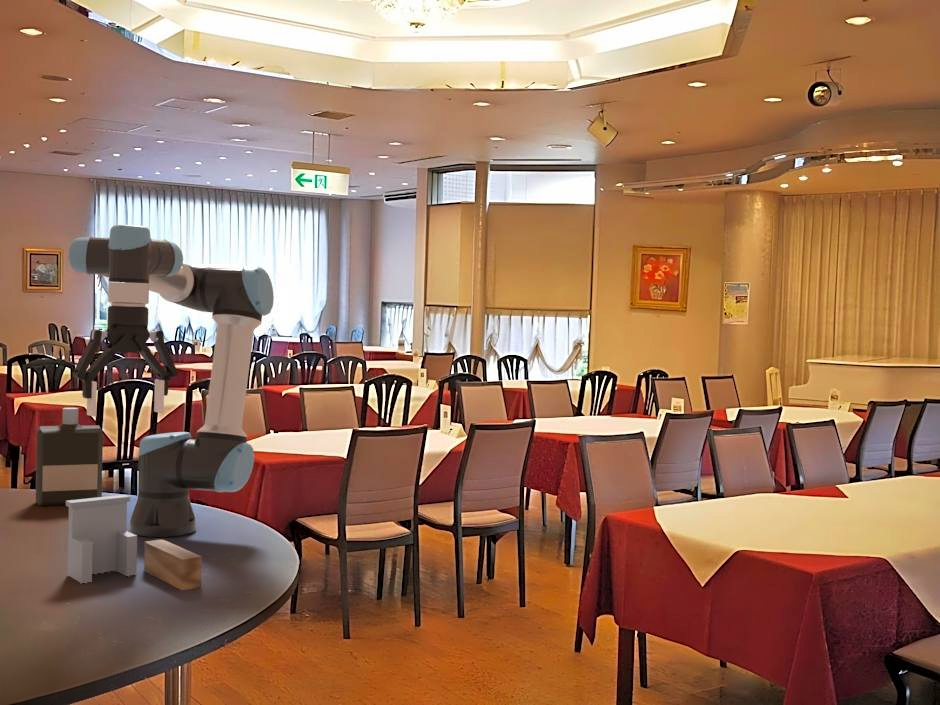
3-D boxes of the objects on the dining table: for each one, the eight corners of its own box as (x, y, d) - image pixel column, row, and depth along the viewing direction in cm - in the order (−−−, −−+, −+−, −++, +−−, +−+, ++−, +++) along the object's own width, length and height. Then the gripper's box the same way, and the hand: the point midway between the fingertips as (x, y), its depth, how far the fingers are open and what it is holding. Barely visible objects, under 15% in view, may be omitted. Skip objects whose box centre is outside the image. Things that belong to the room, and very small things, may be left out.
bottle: (35, 501, 268) (36, 406, 267) (99, 498, 275) (101, 406, 274) (36, 507, 261) (38, 410, 260) (102, 504, 268) (104, 409, 266)
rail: (161, 567, 209) (162, 539, 209) (201, 587, 197) (201, 556, 196) (143, 570, 206) (143, 541, 206) (181, 590, 194) (182, 559, 194)
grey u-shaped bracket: (122, 566, 209) (124, 494, 208) (138, 574, 203) (140, 500, 202) (64, 575, 200) (65, 500, 200) (78, 584, 195) (80, 507, 194)
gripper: (179, 306, 208) (176, 409, 209) (56, 302, 192) (54, 414, 193) (196, 307, 203) (193, 413, 204) (71, 304, 186) (68, 419, 187)
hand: (125, 414), depth 198 cm, fingers open, 13 cm apart
